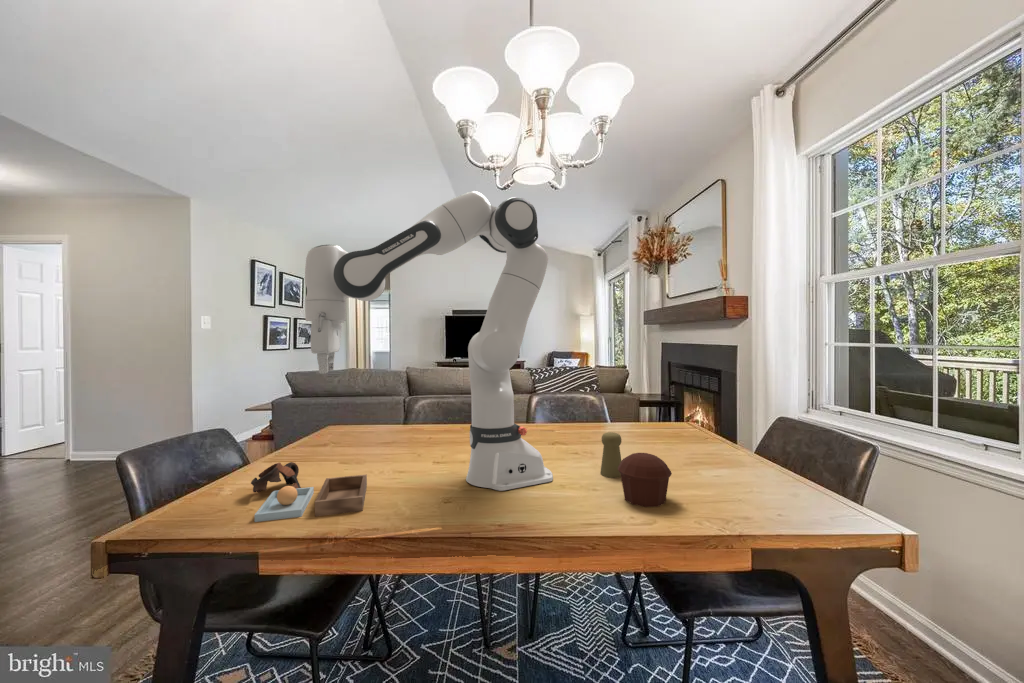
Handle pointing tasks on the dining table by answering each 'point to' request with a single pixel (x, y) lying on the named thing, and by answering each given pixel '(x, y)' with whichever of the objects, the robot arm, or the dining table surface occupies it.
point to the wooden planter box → (341, 495)
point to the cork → (611, 455)
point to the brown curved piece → (277, 476)
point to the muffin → (644, 479)
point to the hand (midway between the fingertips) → (326, 372)
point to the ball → (287, 495)
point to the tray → (284, 506)
